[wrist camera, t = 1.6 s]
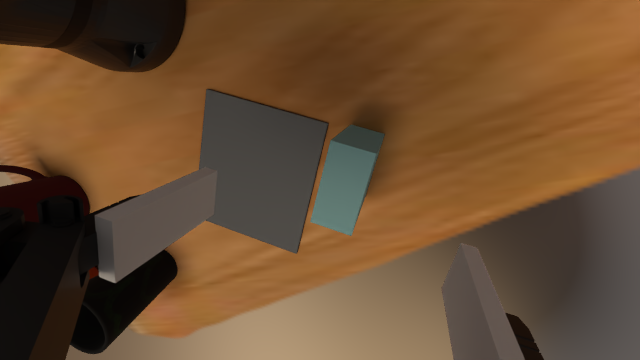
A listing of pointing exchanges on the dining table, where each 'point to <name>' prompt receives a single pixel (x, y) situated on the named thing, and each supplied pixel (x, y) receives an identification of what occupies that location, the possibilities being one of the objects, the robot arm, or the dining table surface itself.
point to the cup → (119, 302)
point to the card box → (346, 178)
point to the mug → (37, 191)
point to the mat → (260, 167)
